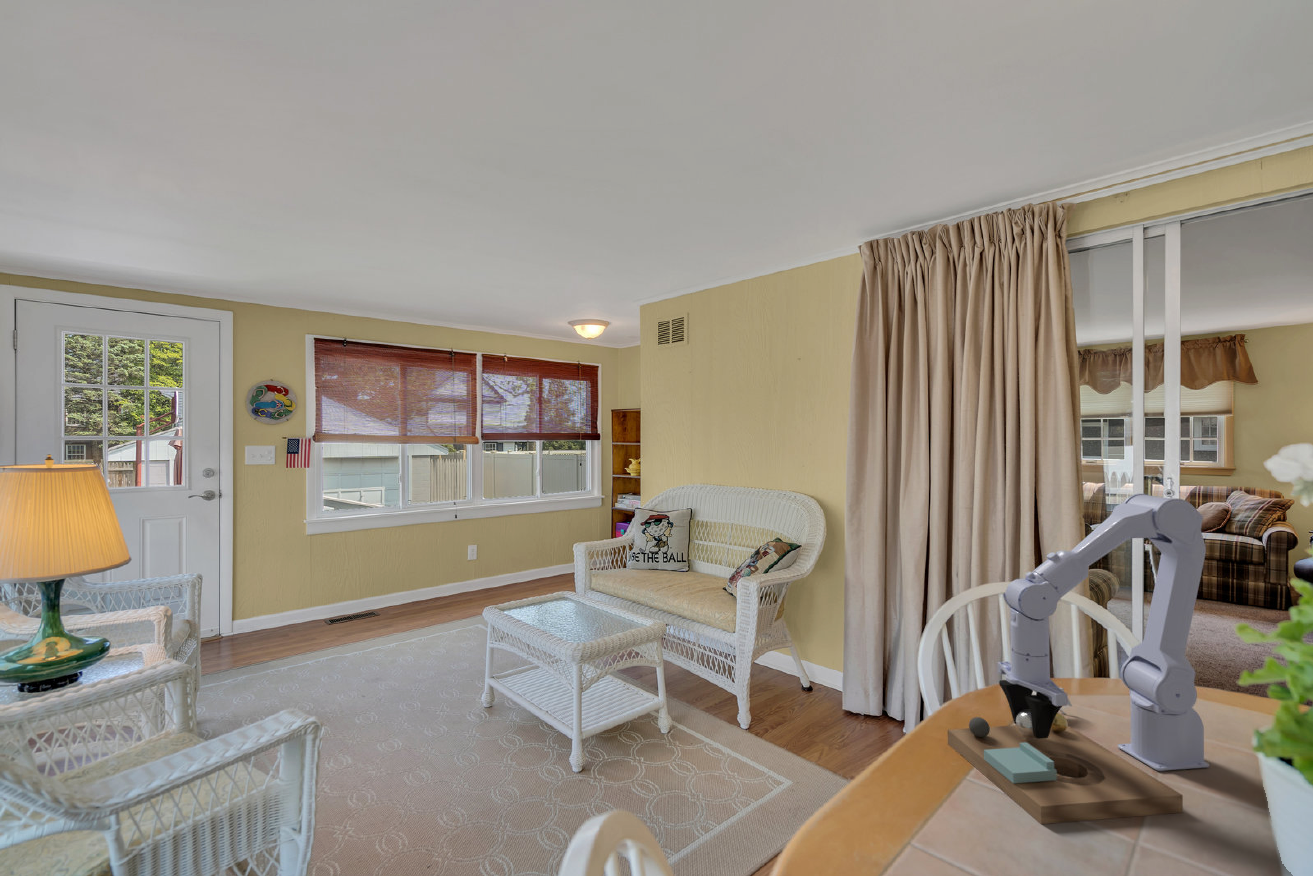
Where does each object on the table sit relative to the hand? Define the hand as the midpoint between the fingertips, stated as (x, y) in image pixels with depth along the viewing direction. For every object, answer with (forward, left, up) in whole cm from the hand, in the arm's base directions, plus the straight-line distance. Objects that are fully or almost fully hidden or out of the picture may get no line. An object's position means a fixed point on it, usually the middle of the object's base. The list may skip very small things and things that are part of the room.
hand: (1030, 730), depth 107 cm
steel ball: (0, 0, +1) cm, 1 cm away
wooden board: (+1, +6, -4) cm, 8 cm away
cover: (+9, +9, -1) cm, 13 cm away
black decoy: (+8, -2, 0) cm, 8 cm away
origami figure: (-11, -14, -4) cm, 18 cm away
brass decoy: (-6, -2, 0) cm, 7 cm away
